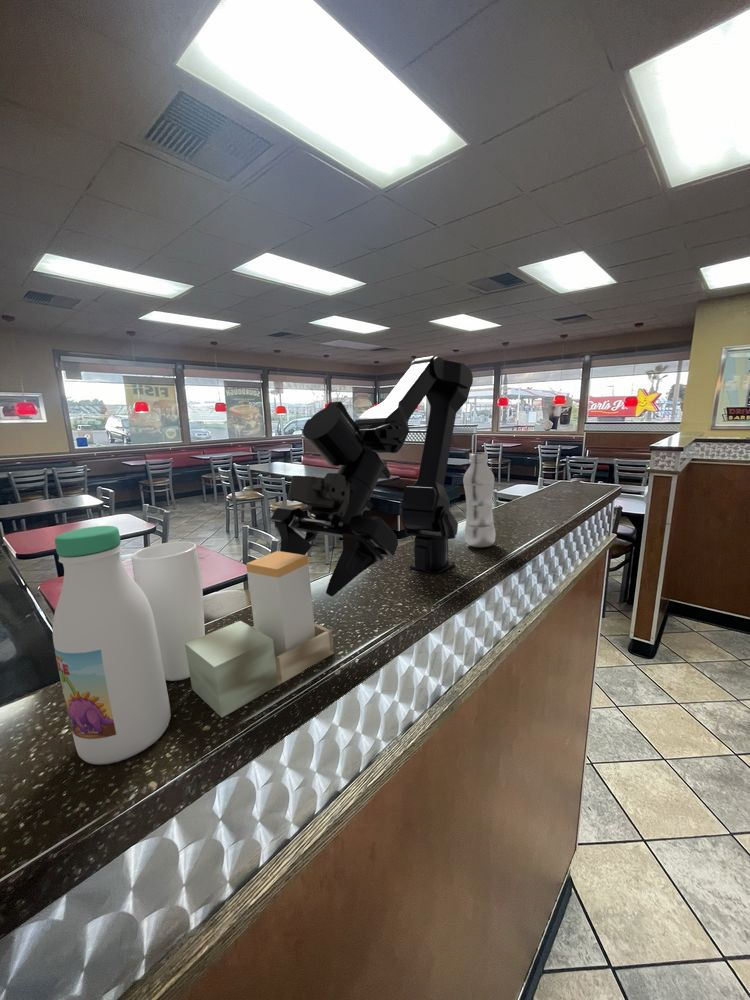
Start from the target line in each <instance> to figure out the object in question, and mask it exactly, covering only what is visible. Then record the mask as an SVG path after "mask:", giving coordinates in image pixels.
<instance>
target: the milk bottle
mask: <svg viewBox="0 0 750 1000" xmlns="http://www.w3.org/2000/svg"><path fill="white" fill-rule="evenodd" d="M54 546H55V550H56V553H57V555H58V562H59V563H61V564H62V566H63V571H64V572H63V583H62V586H61V587H62V588H61V592H60V595H59V598H58V600H57V604H56V607H55V610H54V615H53V619H52V628H51V629H52V642H53V648H54V654H55V655H54V656H55V661H56V665H57V669H58V674H59V678H60V683H61V688H62V693H63V697H64V701H65V706H66V707H65V708H66V710H67V711H66V712H67V714H68V715H67V716H68V721H69V725H70V729H71V733H72V737H73V741H74V746H75V749H76V752H77V755H78V757H79V758H80V759H81V760H82V761H84V762H86V763H88V764H91V765H99V766H102V765H110V764H115V763H117V762H121V761H123V760H127V759H129V758H132V757H133V756H136V755H138V754H139V753H141V752H143V751H145V750H146V749H148V748H149V747H150V746H152V745H153V744H154V743H155V742H157V741H158V740H159V739H160V738H161V737H162V735H163V734H164V733H165V732H166V730H167V728H168V726H169V724H170V722H171V721H170V720H171V716H172V714H171V705H170V700H169V699H170V698H169V694H168V693H169V692H168V688H167V683H166V681H167V680H165V675H164V670H163V664H162V658H161V653H160V647H159V642H158V637H157V631H156V626H155V622H154V617H153V613H152V610H151V607H150V604H149V602H148V599H147V597H146V596H145V594H144V592H143V591H142V590H141V588H140V587H139V586H138V585H137V583H136V582H135V580H134V578H133V577H132V576H131V575H130V573H129V571H128V570H127V568H126V566H125V564H124V563H123V561H122V557H121V552H122V550H123V547H121V546H122V545H121V535H120V531H119V528H118V527H117V526H113V525H99V526H97V525H96V526H89V527H83V528H79V529H74V530H69V531H67V532H64V533H61V534H59V535H57V536H56V537H55V538H54Z"/></svg>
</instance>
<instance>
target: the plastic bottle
mask: <svg viewBox="0 0 750 1000" xmlns="http://www.w3.org/2000/svg"><path fill="white" fill-rule="evenodd" d="M488 454H489V453H488V452H482V451H481V452H470V453H469V460H468V463H470V466H469V467H468V468H467V469H466V471H465V473H464V475H463V478H462V481H463V482H462V483H463V488H464V495H465V503H466V514H465V515H466V517H465V518H466V520H465V527H464V534H463V535H464V540H465V542H466V544H467V545H468V546H470V547H473V548H486V547H487V548H488V547H491V546H493V544H494V543H495V542H496V536H497V535H496V528H495V525H494V515H493V500H494V499H493V495H494V488H495V478H496V477H495V475H494V473H493V471H492V470H491V468H490V467H489V466H488V464H487V463H488V462H489V459H488V458H489V456H488Z"/></svg>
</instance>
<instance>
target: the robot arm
mask: <svg viewBox="0 0 750 1000" xmlns="http://www.w3.org/2000/svg"><path fill="white" fill-rule="evenodd" d="M473 377H474V376H473V371H472V369H471V368H469V367H467V366H466V364H465V363H463V362H457V361H451V360H448V359H447V360H446V359H444V358H442V357H440V356H436V355H431V356H426V357H420V358H419V357H418V358H415V359H414V360H412V361H411V362H410V364H409V369H408V370H407V371H406V372H405V373H404V375H403V376H402V377H401V378H400V380H399V381H398V382H397V384H396V385H395V386H394V387H393V389H391V391H390V393H389V394H388V395H387V396H386V397H385V399H384V400H383V401H381V402H380V403H379V404H377V405H375V406H373V407H371V408H369V409H367V410H365V411H364V412H363V413H362V414H361V415H359V416H358V417H357V418H356V419H355V420H354V419H353V418H352V417H351V415H350V414H349V413H348V410H347V408H346V406H345V405H344V403H343V402H342V401H340V400H339V401H338V400H337V401H330V402H328V404H327V405H326V407H325V408H322V409H320V410H319V411H318V412H316V413H315V414H313V416H311V417H310V418H308V419H307V420H306V422H305V423H304V426H303V428H302V435H303V437H304V438H305V439H306V440H307V442H309V444H310V445H311V446H312V447H313V448H314V449H315V450H316V451H317V453H318V454H319V455H320V456H321V457H322V458H323V459H324V460H325V462H326V463H327V464H328V465H329V466H333V467H339V468H338V470H337V471H336V472H328V473H327V474H326V475H325V476H324V477H321V476H320V477H317V476H312V475H292V477H291V482H290V484H289V490H288V494H287V498H286V500H287V501H290V502H297V503H300V504H303V505H306V508H305V510H306V511H307V512H309V513H310V514H312V515H314V518H312V517H310V516H309V515H308V514H307V513H306V512H305V511H303V510H302V509H301V508H300V507H295V506H287V505H284V506H280V507H276V509H275V511H274V512H273V514H272V515H271V517H270V521H271V522H272V523H273V524H274V528H275V529H276V530H277V531H278V533H279V537H280V549H279V551H281V552H288V553H294V554H301V555H307V553H308V552H309V550H310V549H311V548H312V547H313V545H312V544H311V543H310V542H311V541H313V540H315V539H316V537H317V535H324V536H329V537H335V538H341V539H342V552H341V554H340V556H339V558H338V560H337V562H336V565H335V567H334V569H333V572H332V574H331V575H330V578H329V581H328V584H327V587H326V590H325V593H326V595H327V596H329V597H331V598H332V597H334V596H335V595H337V593H339V592H340V591H341V590H342V589H343V588H345V587H346V586H347V585H348V584H349V583H350V582H352V581H353V580H354V579H355V578H356V577H357V576H359V575H360V574H361V573H363V572H364V571H366V570H367V569H368V568H370V567H371V566H373V565H374V564H375V563H377V562H383V560H384V557H385V558H393V557H394V555H395V553H396V550H397V548H398V546H399V543H398V542H399V540H398V539H399V538H398V537H397V534H396V533H395V532H394V531H393V530H392V529H391V527H390V526H389V525H388V524H387V523H386V522H385V520H383V518H382V517H380V516H373V515H364V514H363V513H364V511H371V510H372V507H373V506H374V505H373V503H372V502H371V500H370V498H371V496H372V493H373V491H374V489H375V487H376V485H377V483H378V481H379V479H383V480H389V479H391V472H390V469H389V467H388V463H387V461H386V460H383V459H381V457H380V455H379V454H396V453H398V452H399V451H400V450H401V449H402V448H403V445H404V444H405V441H406V439H407V437H408V435H409V433H410V427H409V420H410V419H411V417H412V415H413V414H414V412H415V411H416V409H417V408H418V407H419V405H420V404H421V403H422V402H423V399H424V398H425V397H426V399H427V402H428V404H429V406H430V409H429V414H428V419H427V426H426V432H425V436H424V443H423V447H422V454H421V459H420V464H419V470H418V475H417V480H416V481H415V482H414V483H413V485H412V486H406V487H405V488H404V490H403V497H402V501H401V503H400V506H399V507H400V515H399V516H400V519H401V523H402V526H403V531H404V533H405V536H411V537H414V538H413V539H414V546H413V556H414V562H413V563H410V564H409V565H408V566H409V568H410V569H414V570H418V571H422V572H425V573H428V574H429V573H430V574H434V575H438V574H441V573H442V572H443V571H446V570H448V569H450V568H452V567H453V566H455V565H456V561H454V560H449V542H448V541H449V540H453V539H455V538H456V536H457V534H458V530H459V528H458V526H459V523H458V521H457V520H456V518H455V517H454V515H453V514H452V512H451V510H450V503H451V501H450V498H449V495H448V494H447V491H446V488H445V480H446V474H447V469H448V462H449V457H450V451H451V445H452V439H453V433H454V428H455V421H456V416H457V413H458V412H459V411H460V409H461V408H462V407H463V406H464V405H465V403H466V402H467V401H468V399H469V394H470V391H471V387H472V386H473V382H474V381H473V380H474V378H473Z"/></svg>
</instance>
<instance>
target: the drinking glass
mask: <svg viewBox="0 0 750 1000" xmlns="http://www.w3.org/2000/svg"><path fill="white" fill-rule="evenodd" d="M130 557H131V558H130V559H131V564H132V572H133V580H134V581H135V582H136V583H137V585H138V586H139V587H140V588H141V590H142V591H143V592H144V594H145V596H146V597H147V599H148V602H149V604H150V607H151V610H152V613H153V617H154V622H155V626H156V631H157V637H158V642H159V647H160V653H161V658H162V664H163V670H164V675H165V681H169V682H174V681H175V682H176V681H183V680H186V679H188V678H190V672H189V666H188V660H187V654H186V647H185V643H188V642H190V641H192V640H195V639H197V638H200V637H202V636H204V635H206V634H205V633H206V631H205V630H206V629H205V614H204V611H205V609H204V594H203V578H202V577H203V576H202V569H201V568H202V567H201V562H200V558H199V552H198V546H197V544H196V543H195V542H192V541H186V540H184V541H183V540H182V541H181V540H180V541H170V542H169V541H168V542H163V543H157V544H153V545H149V546H145V547H144V548H141V549H138V550H137V551H135V552H134V553H132V555H131V556H130Z"/></svg>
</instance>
